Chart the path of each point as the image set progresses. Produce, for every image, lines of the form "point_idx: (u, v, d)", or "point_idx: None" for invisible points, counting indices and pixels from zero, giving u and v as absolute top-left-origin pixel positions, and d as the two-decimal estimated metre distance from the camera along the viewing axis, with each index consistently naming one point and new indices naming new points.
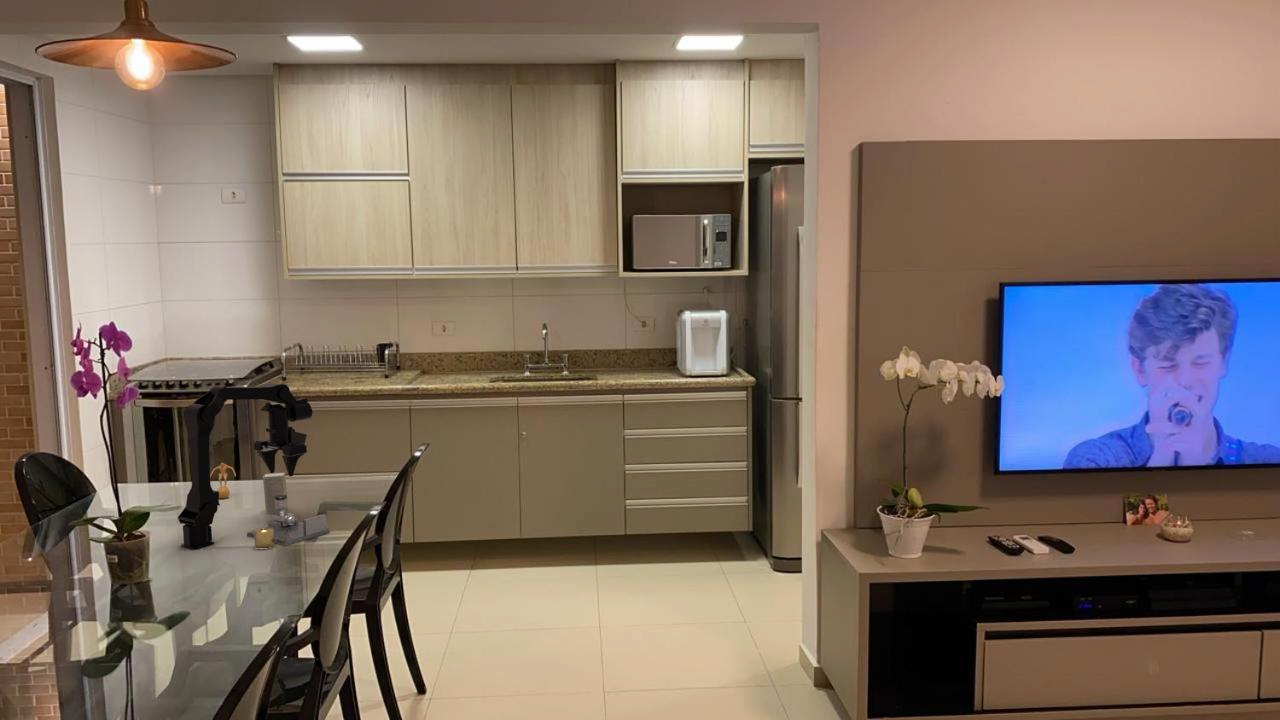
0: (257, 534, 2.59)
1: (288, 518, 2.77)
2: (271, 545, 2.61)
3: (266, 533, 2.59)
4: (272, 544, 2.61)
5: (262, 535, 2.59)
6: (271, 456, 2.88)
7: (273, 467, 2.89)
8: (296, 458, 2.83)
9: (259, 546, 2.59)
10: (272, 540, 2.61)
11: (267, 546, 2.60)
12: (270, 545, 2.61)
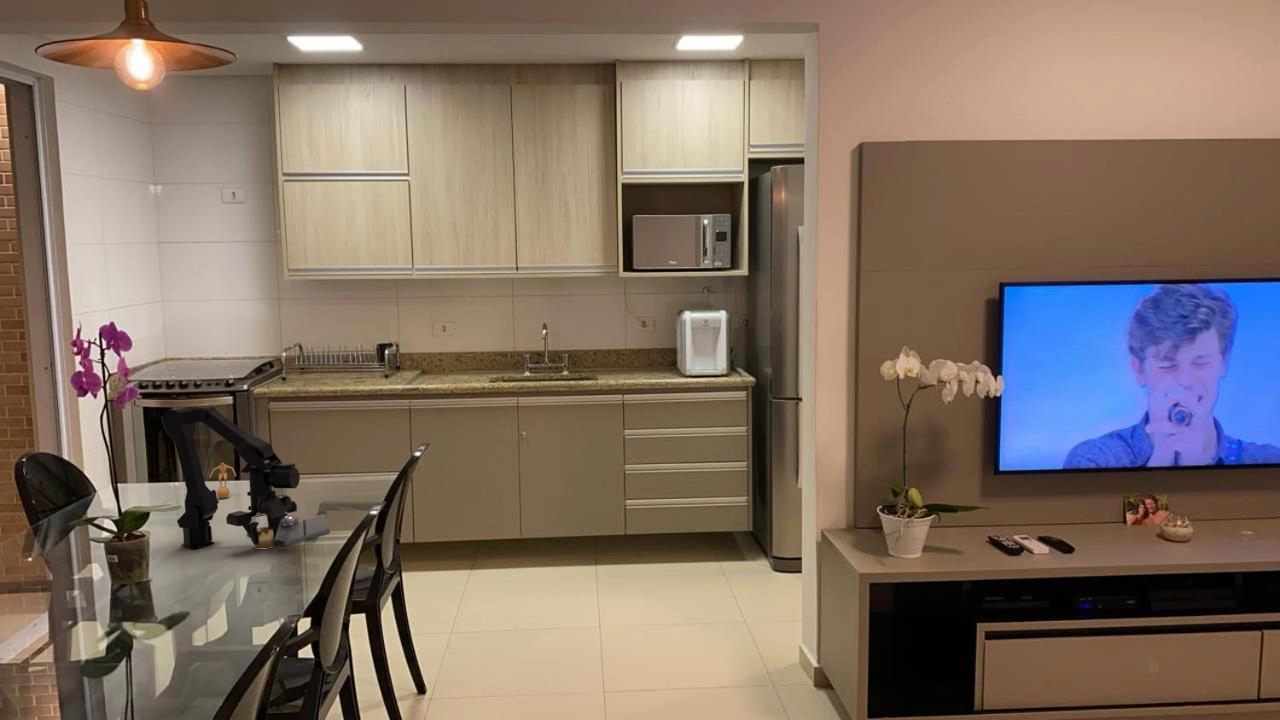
0: (257, 533, 2.59)
1: (288, 518, 2.77)
2: (271, 545, 2.61)
3: (266, 532, 2.59)
4: (272, 544, 2.61)
5: (262, 535, 2.59)
6: (272, 522, 2.64)
7: None
8: (251, 527, 2.57)
9: (259, 546, 2.59)
10: (272, 540, 2.61)
11: (267, 546, 2.60)
12: (270, 545, 2.61)
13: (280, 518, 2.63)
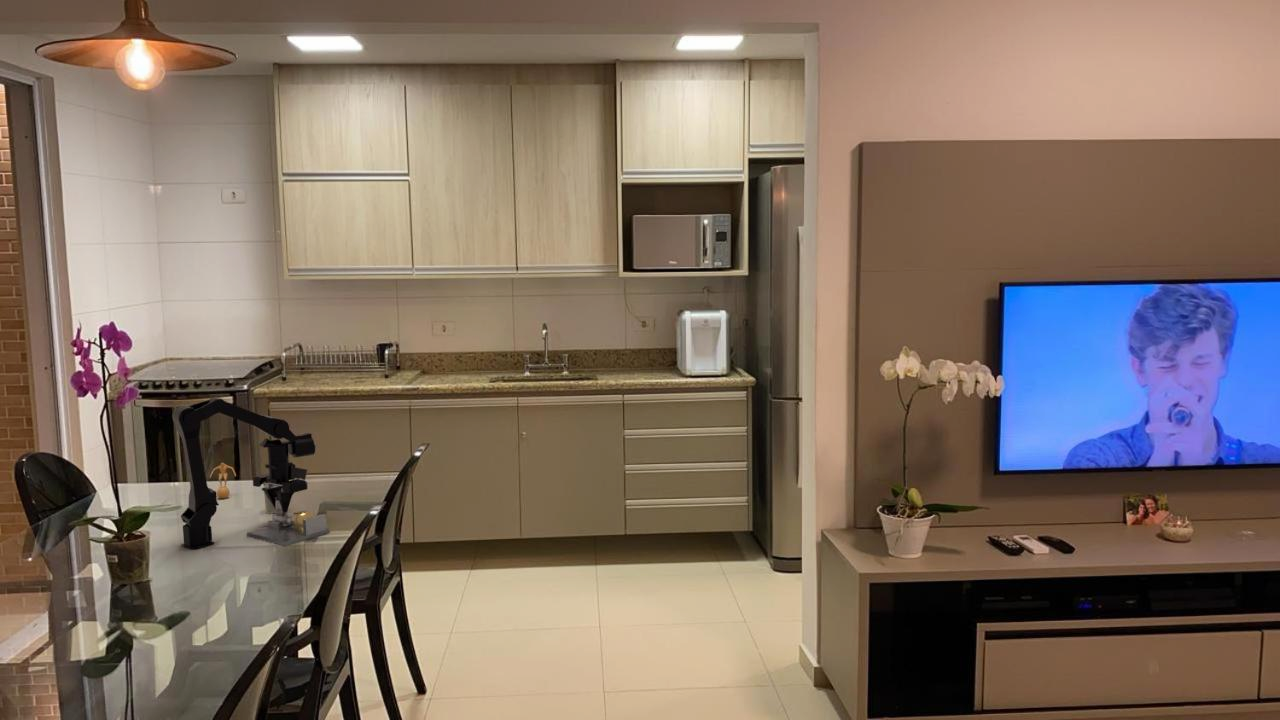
0: (296, 517, 2.71)
1: (288, 518, 2.77)
2: None
3: (305, 515, 2.72)
4: None
5: (301, 518, 2.71)
6: (276, 493, 2.80)
7: None
8: (290, 494, 2.78)
9: (299, 528, 2.72)
10: None
11: None
12: None
13: None
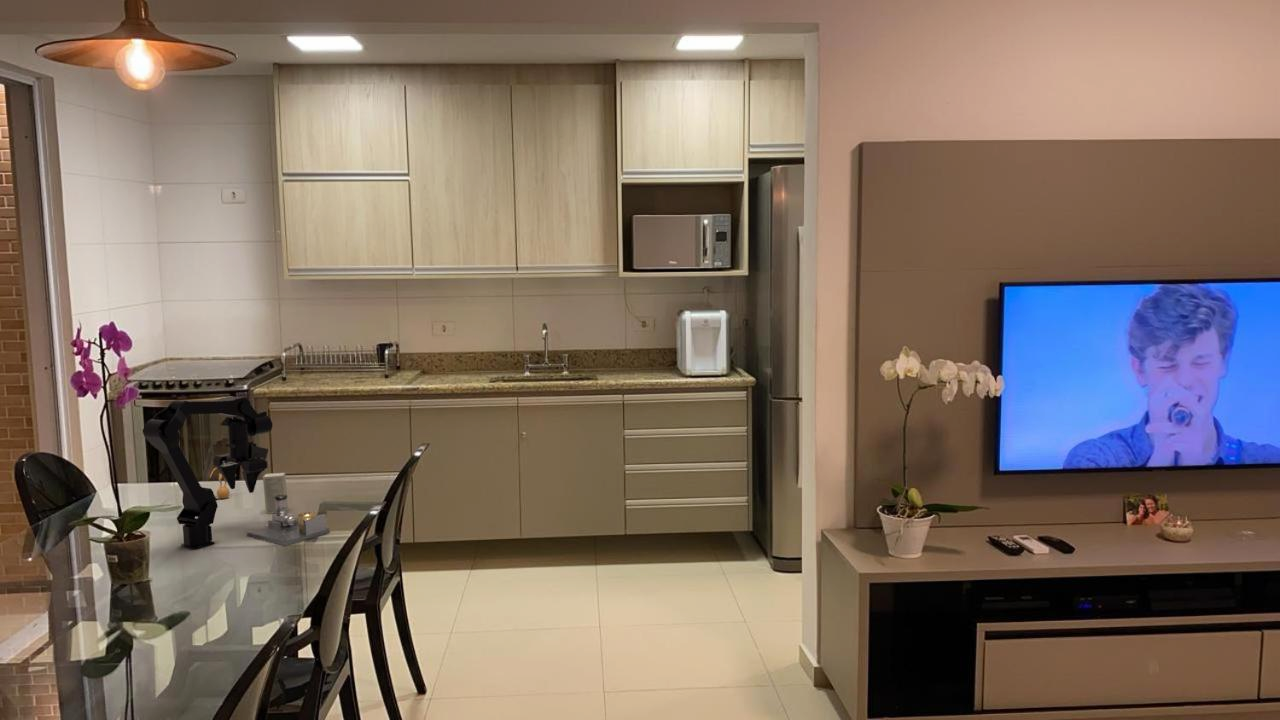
0: (301, 518, 2.70)
1: (288, 518, 2.76)
2: None
3: (310, 517, 2.70)
4: None
5: None
6: (231, 471, 2.80)
7: (233, 483, 2.80)
8: (256, 474, 2.74)
9: None
10: None
11: None
12: None
13: None
